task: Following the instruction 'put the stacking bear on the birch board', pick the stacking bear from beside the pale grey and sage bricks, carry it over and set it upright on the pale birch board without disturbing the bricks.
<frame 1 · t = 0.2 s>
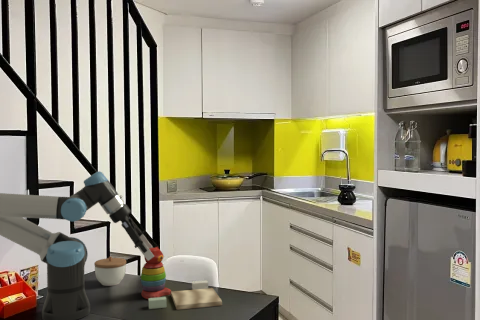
hand: (150, 253, 172), 16 cm above the table, tool tilted 35°, fingers open, 13 cm apart
sage brick: (157, 307, 159), on the table
birch board: (195, 300, 166), on the table
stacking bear: (154, 295, 173), on the table
grey brick: (200, 289, 179), on the table
lidded bowl: (110, 283, 188), on the table
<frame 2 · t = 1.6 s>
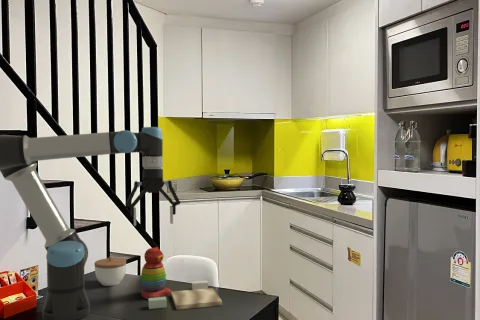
hand: (153, 224, 172), 27 cm above the table, tool pointing down, fingers open, 13 cm apart
nothing on the table moved.
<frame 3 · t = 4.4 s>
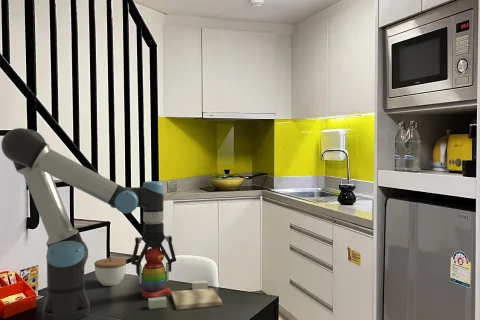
hand: (153, 281, 173), 5 cm above the table, tool pointing down, fingers closed on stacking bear, 9 cm apart
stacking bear: (154, 295, 173), on the table, touching gripper
everything else where it was.
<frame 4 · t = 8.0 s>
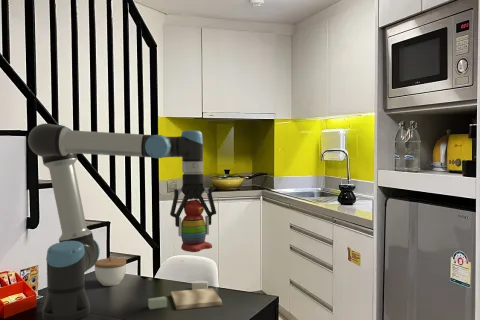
hand: (193, 234, 166), 24 cm above the table, tool pointing down, fingers closed on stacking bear, 9 cm apart
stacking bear: (194, 249, 166), point 19 cm above the table, touching gripper
everything else where it was.
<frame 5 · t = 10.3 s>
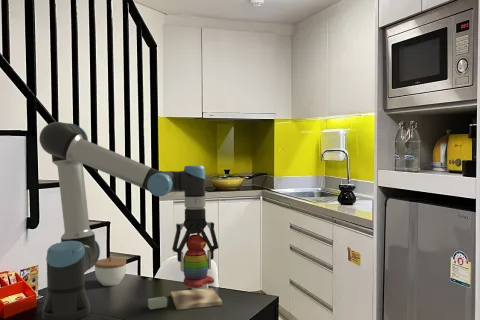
hand: (195, 269, 166), 11 cm above the table, tool pointing down, fingers closed on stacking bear, 9 cm apart
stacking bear: (196, 283, 166), point 6 cm above the table, touching gripper
everything else where it was.
when the fingers open (8 cm above the table, at t = 11.9 s): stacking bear drops 2 cm, resting on birch board.
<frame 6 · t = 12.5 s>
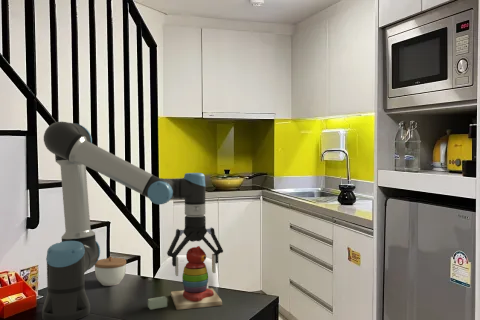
hand: (195, 273, 166), 10 cm above the table, tool pointing down, fingers open, 13 cm apart
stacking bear: (196, 296, 166), point 1 cm above the table, touching birch board
everything else where it was.
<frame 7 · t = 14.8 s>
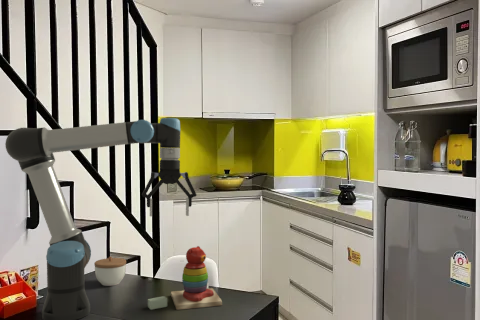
hand: (169, 215, 172), 30 cm above the table, tool pointing down, fingers open, 13 cm apart
nothing on the table moved.
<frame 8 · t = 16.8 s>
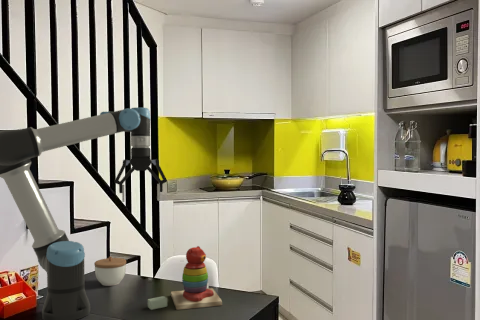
hand: (141, 201, 180), 35 cm above the table, tool pointing down, fingers open, 13 cm apart
nothing on the table moved.
at the end: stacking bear inside the target area on the birch board (0.2 cm from its centre), point 1.3 cm above the birch board's base; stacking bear tilted 0°; sage brick moved 0.2 cm from its start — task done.
